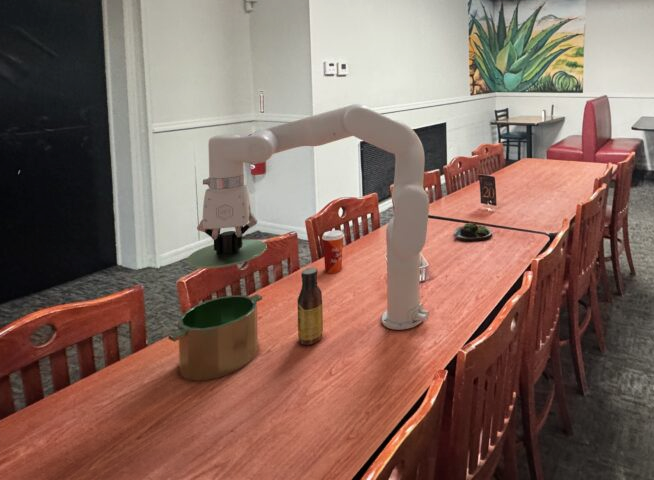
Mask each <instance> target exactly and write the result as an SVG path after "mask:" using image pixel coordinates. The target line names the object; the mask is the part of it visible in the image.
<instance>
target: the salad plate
mask: <svg viewBox="0 0 654 480" xmlns="http://www.w3.org/2000/svg"><path fill="white" fill-rule="evenodd" d="M492 235H493V232H492V231H491V228H490V227H489V226H487V225H485V224H484V225H483V224H477V223H476V222H473V223H471V222H466V223H464V225H462V226H457V227H455V229H454V234H453V238H456V239H457V240H459V241H462V242H481V241H486V240H489V239H490V238H491V237H492Z"/></svg>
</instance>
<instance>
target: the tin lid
mask: <svg viewBox="0 0 654 480" xmlns="http://www.w3.org/2000/svg"><path fill="white" fill-rule="evenodd" d="M235 237H236V230H227V231H223V232H220V241H221V253H220V254H219V255H216V250H215V251H214V244H211V245H207V246H205V247H202V248H199V249H197V250H196V251H193V252H192V253H191V254H189V256H188V257H187V258H186V263H187V265H188V266H189V267H192V268H196V269H205V270H206V269H207V270H208V269H210V270H211V269H220V268H227V267H233V266H237V265H241V264H243V263H247V262H249V261H252V260H255V259H256V258H259V257H260V256H262V255H263V254H264V253H265V252H266V251H267V249H268V246H267V243H266V242H264V241H262V240H259V239H242V241H243V245H242V248H240V250H239V251H238V252H236V253H235V250H234V238H235Z"/></svg>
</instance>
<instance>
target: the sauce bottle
mask: <svg viewBox="0 0 654 480" xmlns="http://www.w3.org/2000/svg"><path fill="white" fill-rule="evenodd" d="M301 282H302V284H301V289H300V292H299V295H298V297H297V300H296V301H297V337H298V341H299V344H300V345H306V346H307V345H313V344H316V343H318V342H319V341H320V340H321V339H322V337H323V331H324V319H323V317H324V315H323V313H324V311H323V293H322V290H321V288H320V287H319V286H318V268H317V267H314V266H313V267H306V268H305V269H303V270H301Z"/></svg>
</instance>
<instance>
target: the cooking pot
mask: <svg viewBox="0 0 654 480" xmlns="http://www.w3.org/2000/svg"><path fill="white" fill-rule="evenodd" d="M262 300H263V296H262V295H260V294H257V293H256V294H254V295H251V296H248V295H237V294H234V295H227V296H219V297H215V298H212V299H208V300H205V301H203V302H201V303H197V304H196V305H193V306H192V307H190V308H189V309H188V310H186V311H185V312H183V313H182V314H181V316H180V317H179V319H177V325H178V326H177V327H178V329H177V331H174V332H172V333H170V334H168V340H170V341H171V342H177V341H178V367H179V373H180V375H181V377H182V378H184V379H187V380H189V381H208V380H213V379H217V378H221V377H224V376H227V375H230V374H232V373H234V372H236V371H238V370H239V369H241V368H243V367H245V366H246V365H247V364H249V363H250V362H251V361H252V360H253V358H255V356H256V355H257V352H258V347H259V344H258V343H259V341H258V340H259V335H258V333H259V332H258V302H260V301H262Z"/></svg>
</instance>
